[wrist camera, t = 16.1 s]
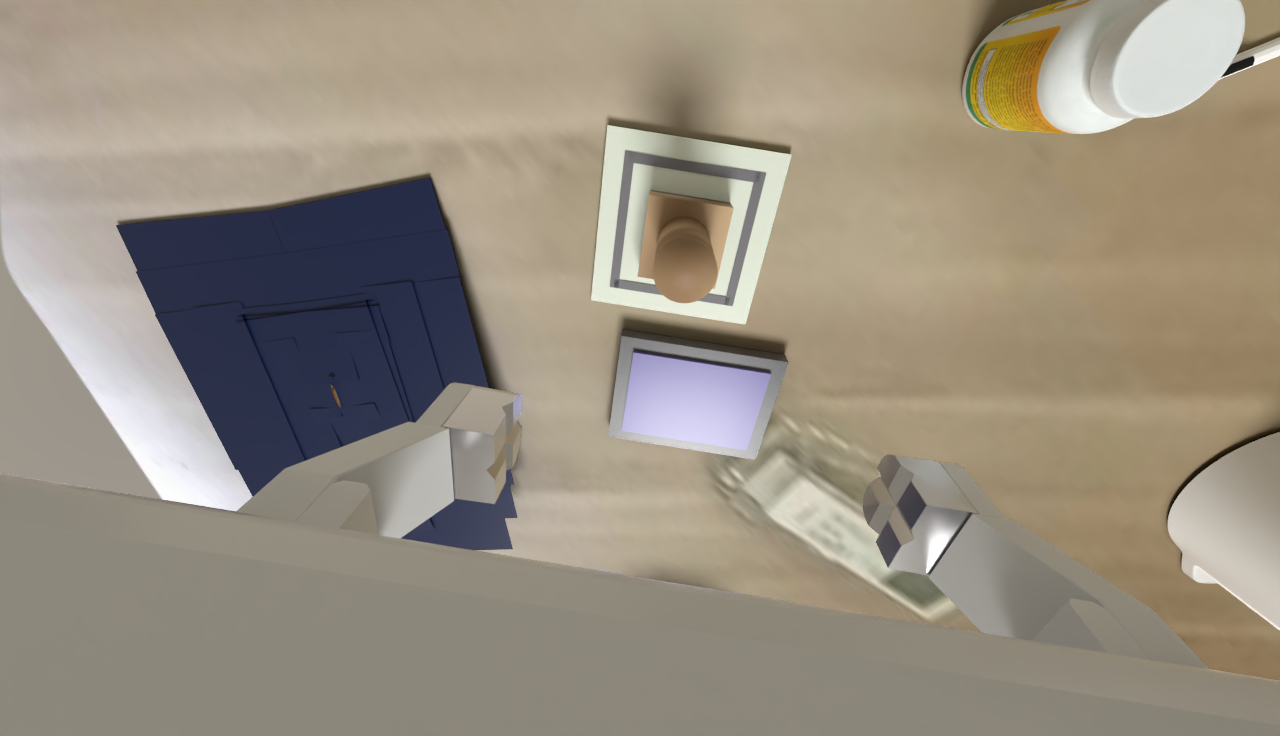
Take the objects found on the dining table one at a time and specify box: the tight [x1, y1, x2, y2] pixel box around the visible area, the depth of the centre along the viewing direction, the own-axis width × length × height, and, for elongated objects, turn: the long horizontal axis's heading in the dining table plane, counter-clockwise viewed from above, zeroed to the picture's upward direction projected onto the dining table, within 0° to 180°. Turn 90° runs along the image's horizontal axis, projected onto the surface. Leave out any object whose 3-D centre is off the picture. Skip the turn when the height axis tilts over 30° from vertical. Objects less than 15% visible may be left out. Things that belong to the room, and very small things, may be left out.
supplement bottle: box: [962, 0, 1245, 134], centre depth 21 cm, size 5×5×10 cm
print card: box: [591, 125, 792, 324], centre depth 30 cm, size 11×11×1 cm
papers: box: [116, 178, 517, 550], centre depth 37 cm, size 24×30×4 cm
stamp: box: [637, 190, 734, 303], centre depth 26 cm, size 5×5×8 cm
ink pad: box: [608, 329, 788, 460], centre depth 35 cm, size 12×9×2 cm
